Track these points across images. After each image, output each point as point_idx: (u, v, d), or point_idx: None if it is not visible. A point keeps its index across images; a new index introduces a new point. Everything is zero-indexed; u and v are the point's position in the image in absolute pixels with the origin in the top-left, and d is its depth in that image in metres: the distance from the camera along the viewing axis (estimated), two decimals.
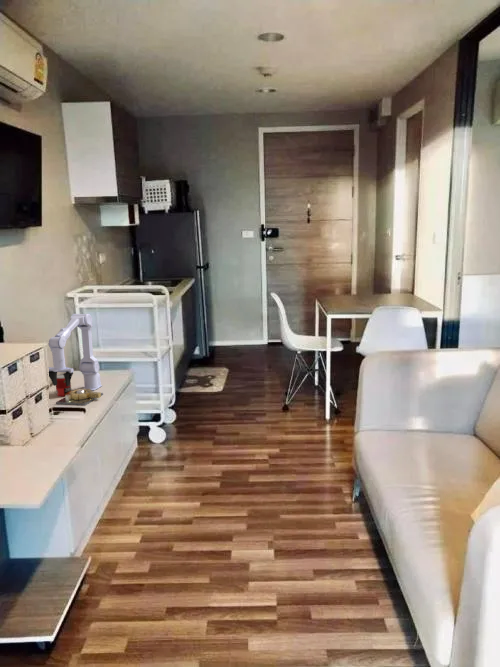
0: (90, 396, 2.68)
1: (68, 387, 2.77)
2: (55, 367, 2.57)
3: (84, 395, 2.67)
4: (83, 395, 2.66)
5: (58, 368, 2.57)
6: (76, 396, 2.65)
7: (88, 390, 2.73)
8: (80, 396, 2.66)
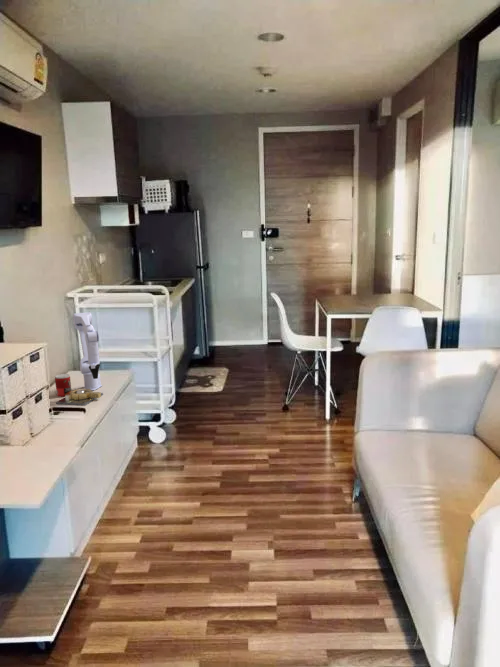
0: (90, 396, 2.68)
1: (68, 387, 2.77)
2: None
3: (84, 395, 2.67)
4: (83, 395, 2.66)
5: (88, 361, 2.70)
6: (76, 396, 2.65)
7: (88, 390, 2.73)
8: (80, 396, 2.66)
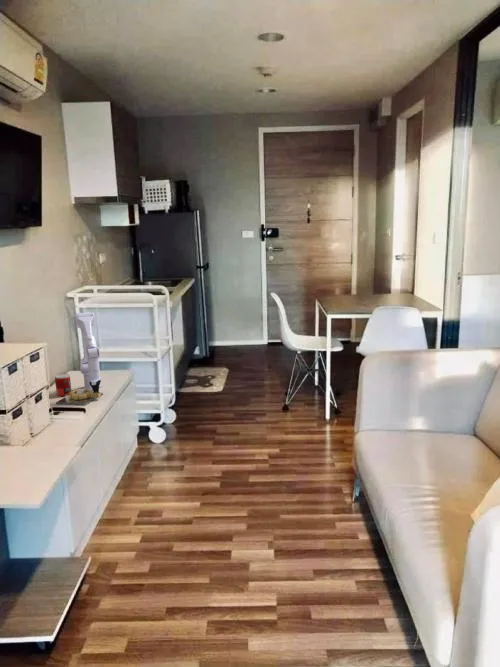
0: (90, 396, 2.68)
1: (68, 387, 2.77)
2: None
3: (84, 395, 2.67)
4: (83, 395, 2.66)
5: (89, 377, 2.68)
6: (76, 396, 2.65)
7: (88, 390, 2.73)
8: (80, 396, 2.66)
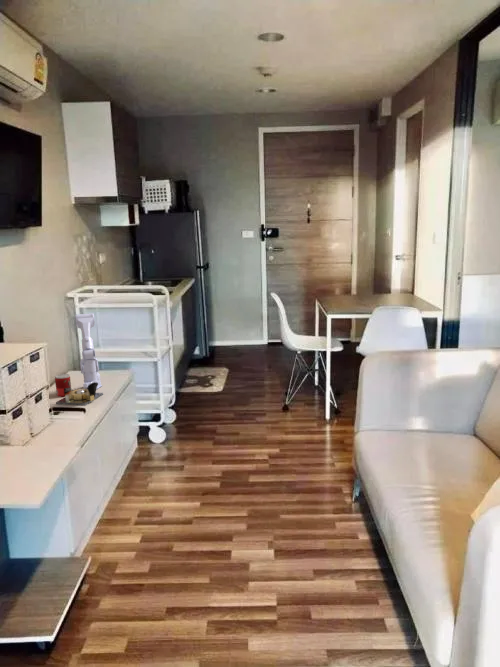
0: (85, 398, 2.66)
1: (68, 387, 2.77)
2: None
3: (79, 396, 2.66)
4: (78, 396, 2.65)
5: (85, 379, 2.65)
6: (72, 396, 2.66)
7: (88, 391, 2.71)
8: (75, 396, 2.65)
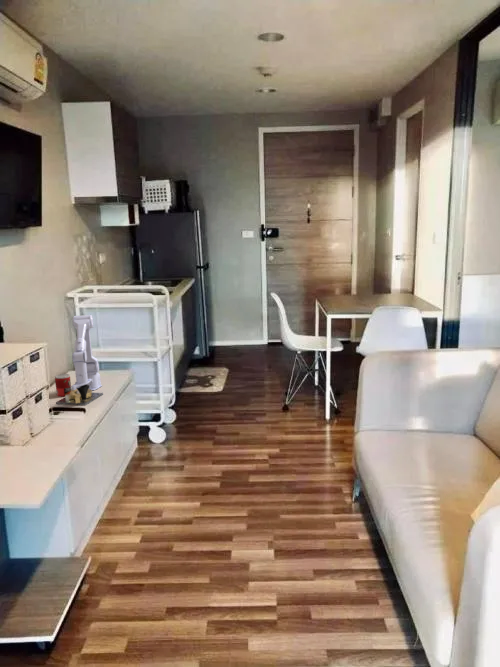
0: None
1: (68, 387, 2.77)
2: None
3: (72, 396, 2.66)
4: (72, 395, 2.66)
5: None
6: (69, 394, 2.69)
7: None
8: None
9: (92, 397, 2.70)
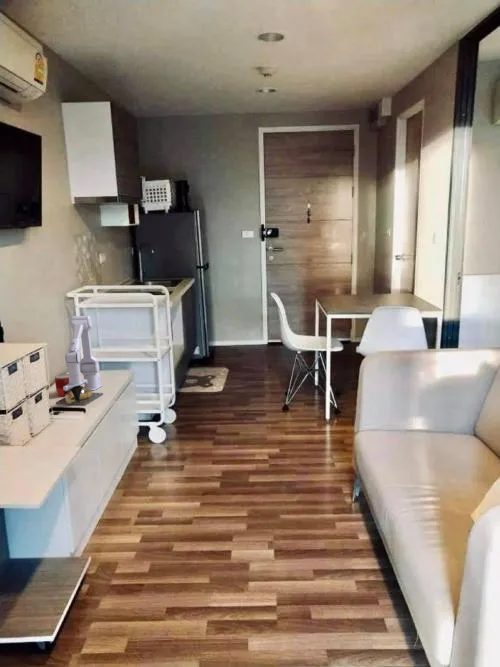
0: None
1: None
2: None
3: None
4: None
5: None
6: None
7: (82, 393, 2.67)
8: (69, 394, 2.69)
9: (92, 397, 2.70)
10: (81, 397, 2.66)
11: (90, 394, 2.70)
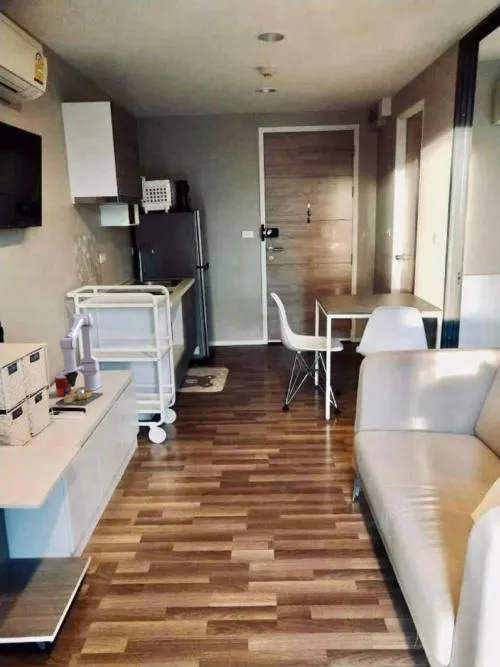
0: None
1: (68, 387, 2.77)
2: None
3: None
4: None
5: None
6: None
7: (81, 393, 2.67)
8: None
9: (92, 397, 2.70)
10: (79, 397, 2.66)
11: (89, 395, 2.69)
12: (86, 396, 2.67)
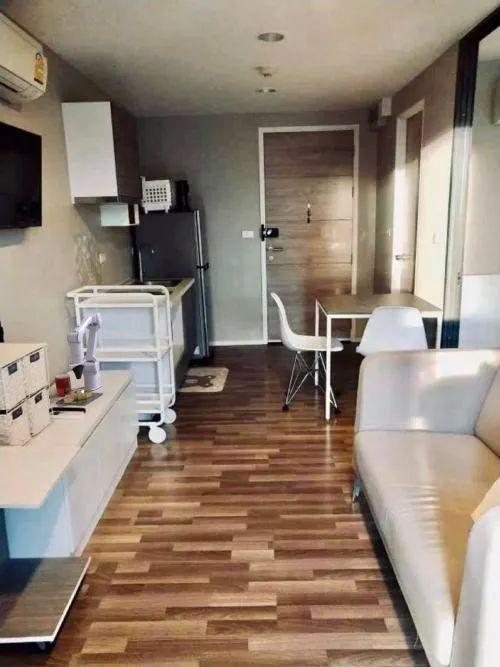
0: None
1: (68, 387, 2.77)
2: None
3: None
4: None
5: None
6: None
7: (81, 393, 2.67)
8: None
9: (92, 397, 2.70)
10: (79, 397, 2.66)
11: (89, 395, 2.69)
12: (86, 396, 2.67)
